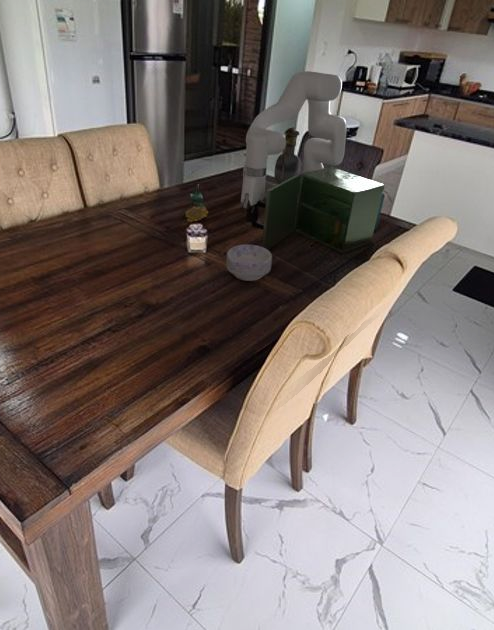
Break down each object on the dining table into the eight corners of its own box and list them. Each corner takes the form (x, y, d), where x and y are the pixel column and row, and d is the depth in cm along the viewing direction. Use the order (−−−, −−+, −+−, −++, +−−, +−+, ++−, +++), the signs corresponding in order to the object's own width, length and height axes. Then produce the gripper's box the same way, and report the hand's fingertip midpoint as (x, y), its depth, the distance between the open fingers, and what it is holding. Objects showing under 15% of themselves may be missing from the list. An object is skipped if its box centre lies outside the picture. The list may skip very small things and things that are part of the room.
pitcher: (299, 184, 243) (307, 125, 226) (289, 195, 228) (296, 132, 211) (280, 181, 246) (286, 122, 229) (268, 191, 231) (274, 128, 214)
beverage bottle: (375, 227, 199) (386, 182, 188) (377, 233, 194) (389, 187, 183) (360, 226, 200) (370, 180, 189) (362, 232, 194) (372, 185, 183)
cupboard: (342, 254, 175) (354, 192, 162) (294, 230, 191) (301, 173, 177) (370, 243, 185) (384, 184, 172) (322, 222, 201) (331, 166, 188)
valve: (326, 232, 189) (329, 214, 185) (336, 228, 193) (339, 211, 188) (338, 237, 185) (341, 219, 181) (348, 234, 189) (351, 216, 185)
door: (246, 247, 174) (250, 186, 161) (277, 226, 193) (283, 170, 180) (264, 253, 171) (269, 191, 158) (293, 231, 190) (301, 174, 177)
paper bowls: (238, 289, 148) (239, 267, 143) (218, 268, 159) (219, 247, 154) (278, 280, 154) (281, 259, 150) (256, 261, 165) (258, 241, 161)
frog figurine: (216, 210, 205) (216, 178, 195) (199, 228, 191) (198, 195, 182) (196, 206, 207) (195, 174, 197) (178, 224, 194) (176, 191, 184)
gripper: (257, 164, 168) (253, 212, 178) (234, 174, 156) (232, 224, 166) (275, 168, 165) (270, 217, 175) (253, 178, 153) (249, 230, 163)
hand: (251, 220), depth 171 cm, fingers closed on door, 2 cm apart
